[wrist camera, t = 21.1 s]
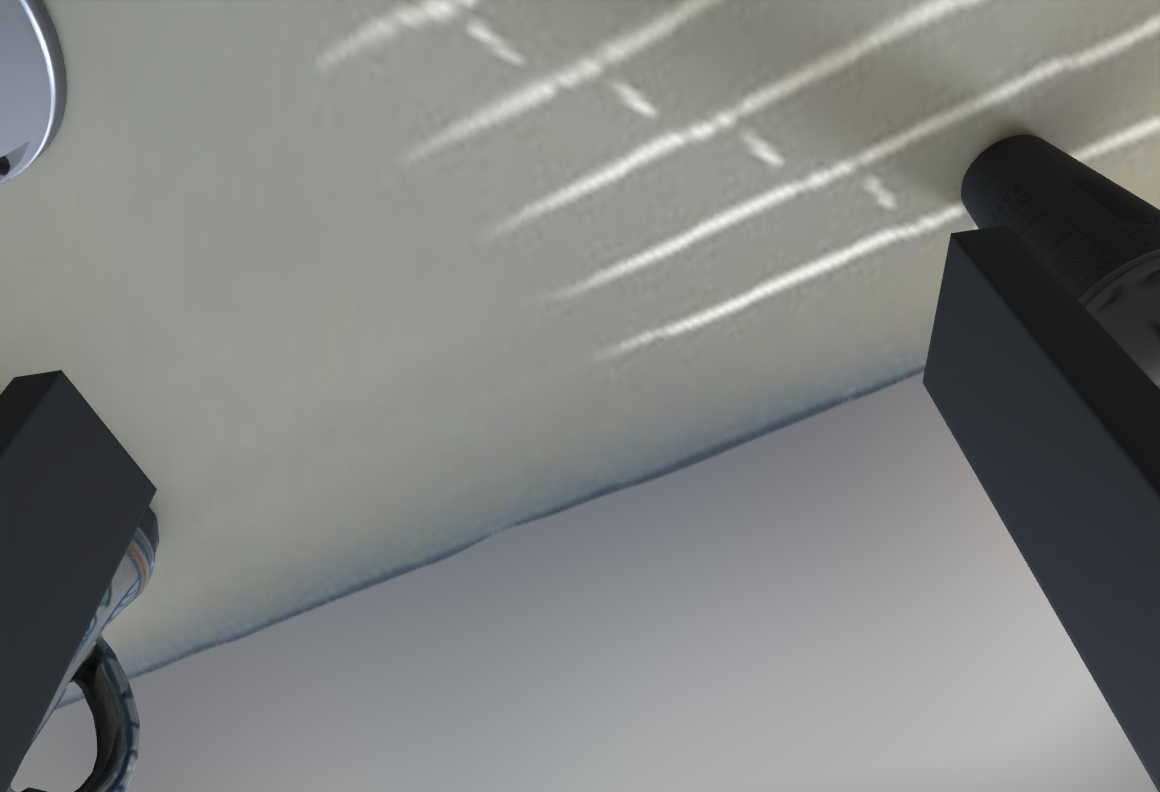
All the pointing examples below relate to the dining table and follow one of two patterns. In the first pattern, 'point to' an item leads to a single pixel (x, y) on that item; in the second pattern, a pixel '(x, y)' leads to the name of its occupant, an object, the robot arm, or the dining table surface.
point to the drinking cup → (1078, 235)
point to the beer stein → (111, 671)
